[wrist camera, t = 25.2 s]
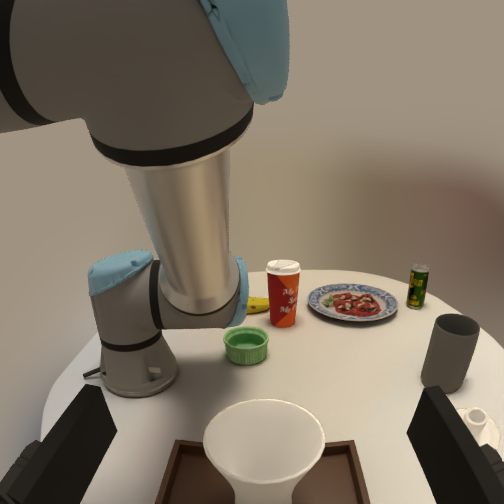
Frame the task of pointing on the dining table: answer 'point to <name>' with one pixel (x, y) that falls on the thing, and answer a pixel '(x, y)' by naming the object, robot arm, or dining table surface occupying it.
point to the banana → (257, 304)
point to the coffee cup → (283, 291)
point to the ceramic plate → (353, 302)
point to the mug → (450, 351)
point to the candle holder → (481, 426)
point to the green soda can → (417, 286)
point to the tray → (222, 494)
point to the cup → (264, 448)
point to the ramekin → (246, 345)
